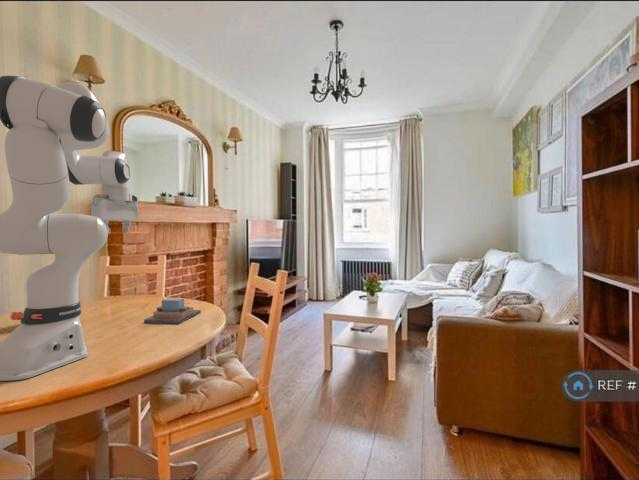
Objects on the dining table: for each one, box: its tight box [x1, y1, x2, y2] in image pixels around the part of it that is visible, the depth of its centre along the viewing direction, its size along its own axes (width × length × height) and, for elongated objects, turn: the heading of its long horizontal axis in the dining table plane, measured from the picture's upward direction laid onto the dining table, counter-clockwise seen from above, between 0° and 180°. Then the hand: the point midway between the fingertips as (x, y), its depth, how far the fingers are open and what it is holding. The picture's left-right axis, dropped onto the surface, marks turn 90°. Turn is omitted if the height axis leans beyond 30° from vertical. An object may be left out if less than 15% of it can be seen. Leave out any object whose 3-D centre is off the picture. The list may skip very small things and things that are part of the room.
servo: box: [156, 297, 190, 312], centre depth 131 cm, size 4×12×6 cm, turn 82°
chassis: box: [143, 306, 201, 325], centre depth 131 cm, size 16×14×3 cm
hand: (116, 233), depth 126 cm, fingers open, 8 cm apart
